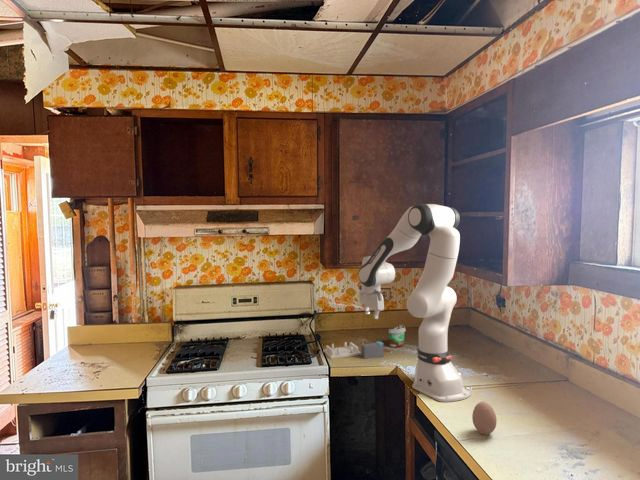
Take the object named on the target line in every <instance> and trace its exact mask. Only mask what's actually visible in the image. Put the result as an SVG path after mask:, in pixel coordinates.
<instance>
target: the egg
mask: <svg viewBox="0 0 640 480" xmlns="http://www.w3.org/2000/svg"><path fill="white" fill-rule="evenodd" d="M471 415H472V418H471V419H472V423H473V426H474V429H476V430H477V431H478V432H479V433H480V434H482V435H485V436H486V435H490V434H492V433H493V432H494V431H495V429H496V427H497V424H498V423H497V422H498V421H497V415H496V412H495V410H494V408H493V407H492V405H491V404H490V403H488V402H487V401H480V402H478V403H477V404H476V405H475V406H474V408H473V411H472V414H471Z"/></svg>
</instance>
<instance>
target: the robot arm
mask: <svg viewBox="0 0 640 480" xmlns="http://www.w3.org/2000/svg"><path fill="white" fill-rule="evenodd" d="M460 218H461V217H460V214H459V211H458V210H457V209H456V208H454V207H451V206H449V205H446V206H444V205H440V204H436V203H417V204H415V205H413V206H409V207H408V209H407V210H406V211H405V212H404V214H403V215H402V216H401V217H400V219H399V221H398V222H397V224H396V226H395V227H394V228H393V230H392V231H391V232H390V234H388V236H386V237H385V238H384V239H383V240H382V241H381V242H380V244H379V245H378V246H377V248H376V249H375V250H374V252H373V253H372V254H370V255H365V256H363V258H362V262H361V263H362V264H361V267H360V268H359V270H358V275H357V277H358V280H359V282H360V283H361V284H359V285H358V290H359V292H358V293H359V295H358V296H359V302H360V304H361V305H363V308H364V311H365V312H364V314H365V315H371V314H370V313H371V311H370V309H371V310H373V312H374V314H373V319H375V320H379V315H380V312H382V311H384V310H385V301H384V296H383V294H382V293H381V289H382V288H381V287H382V286H381V285H385V284H390V283H392V282H394V281H395V279H396V277H397V271H396V268H395V266H394V265H393V264H392V263H389V262H387V259H389V257H391V256H393V255H395V254H398V253H399V252H403V251H406V250H410V249H411V248H412V247H414V246H415V245H416V244H417V243H418V241H419V240H420V238H421V236H426V235H428V236H429V239H430V240H429V246H428V251H427V255H426V258H425V259H426V260H425V264H424V268H423V271H422V273H421V276H420V278H419V280H418V282H417V284H416V286H415V288H414V289H413V291H412V292H411V293H410V294H409V295H408V297H407V299H406V308H407V311H408V312H409V314H410V315H411V316H413V317H415V318H418V319H419V318H420V319H422V322H421V324H420V325H419V327H418V335H417V336H418V348H417V352H416V353H417V358H418V360H417V363H416V365H415V369H414V371H415V372H414V382H413V383H412V386H411V387H412V389H414V390H416V391H418V392H420V393H423V394H424V395H426V396H428V397H430V398H431V399H434V400H436V401H438V402H443V403H445V402H446V403H448V402H449V403H450V402H456V401H457V402H458V401H462V400H465V399H468V398H470V396H471V392H470V391H468V390H467V389H466V388H465V387H464V381H463V378H462V373H461V372H458V371H457V368H456V367H455V366H454V364H453V363H452V362H451V361H452V358H453V357H452V355H451V354H450V352H449V349H448V333H449V332H448V331H449V325H450V321H451V316H452V312H453V310H454V307H455V305H456V304H457V300H458V299H457V298H458V297H457V294H456V292H455V290H454V289H453V288H452V287H450V286H448V284H449V283H450V282H451V280H452V279H453V277H454V275H455V270H456V266H457V262H458V257H459V251H460V243H461V235H460V231H458V229H457V228H458V227H459V224H460V222H461V219H460Z"/></svg>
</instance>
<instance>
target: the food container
mask: <svg viewBox="0 0 640 480" xmlns="http://www.w3.org/2000/svg"><path fill="white" fill-rule="evenodd" d="M406 331H407V329H406V327H405V325H404V324H401V323H399V324H398V325H397V326H394V327H393V328H388V335H389V347H390V348H391V349H400V348H403V347H404V345H405V332H406Z"/></svg>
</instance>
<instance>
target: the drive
mask: <svg viewBox="0 0 640 480" xmlns="http://www.w3.org/2000/svg"><path fill="white" fill-rule="evenodd" d="M360 352H361V355H360V356H361V357H362V358H363V359H364V360H367V359H368V360H369V359H374V358H383V357H384V356H385V355H384V342H382V341H375V342H371V343H362V344H360Z"/></svg>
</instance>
